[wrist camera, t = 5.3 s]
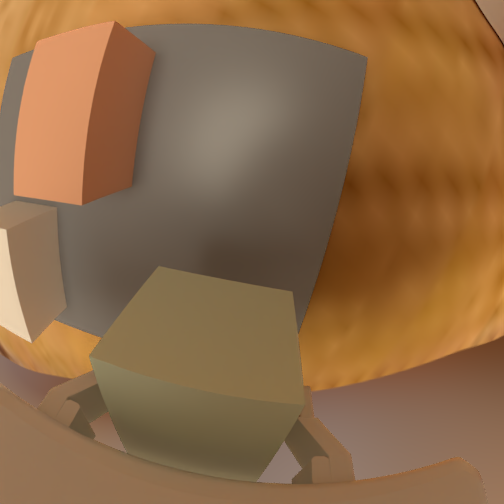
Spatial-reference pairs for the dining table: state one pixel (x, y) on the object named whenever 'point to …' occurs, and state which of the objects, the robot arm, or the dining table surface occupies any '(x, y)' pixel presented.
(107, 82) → the brick terracotta
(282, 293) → the brick green
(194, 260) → the baseplate
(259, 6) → the dining table surface
